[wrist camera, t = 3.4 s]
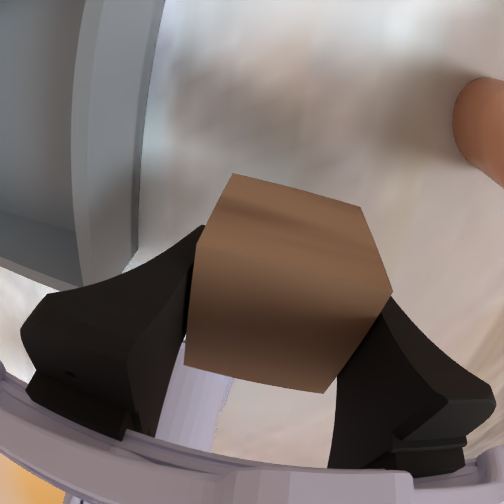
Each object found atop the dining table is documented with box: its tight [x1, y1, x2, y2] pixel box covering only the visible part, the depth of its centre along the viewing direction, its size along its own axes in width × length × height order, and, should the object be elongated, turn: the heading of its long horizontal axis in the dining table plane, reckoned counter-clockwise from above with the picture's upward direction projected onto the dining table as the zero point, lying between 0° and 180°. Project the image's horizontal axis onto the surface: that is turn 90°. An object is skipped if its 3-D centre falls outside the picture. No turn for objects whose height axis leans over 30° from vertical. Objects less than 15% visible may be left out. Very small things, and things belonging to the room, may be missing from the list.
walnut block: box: [183, 173, 393, 394], centre depth 11 cm, size 5×5×5 cm
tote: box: [0, 0, 165, 291], centre depth 11 cm, size 18×14×5 cm
